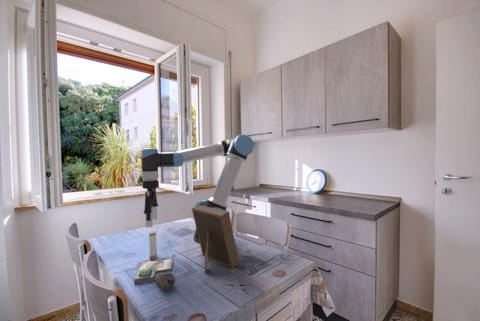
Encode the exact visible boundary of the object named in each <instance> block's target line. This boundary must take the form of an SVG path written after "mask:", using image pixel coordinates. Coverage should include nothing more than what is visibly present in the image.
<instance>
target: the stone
mask: <svg viewBox="0 0 480 321" xmlns="http://www.w3.org/2000/svg"><path fill="white" fill-rule="evenodd" d="M154 282H156V283H157V285H159V286H160V288H162V290H165V291H168V290H170V289H172V288H173V287H174V285H175V283H176V277H175V275H174V274H173V273H171V272H167V273H156V276H155V279H154Z"/></svg>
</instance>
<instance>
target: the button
mask: <svg viewBox="0 0 480 321" xmlns="http://www.w3.org/2000/svg"><path fill="white" fill-rule="evenodd" d="M143 276H151V268H150V267H145V268H142V269H141V270H140V277H143Z"/></svg>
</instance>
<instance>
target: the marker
mask: <svg viewBox="0 0 480 321" xmlns="http://www.w3.org/2000/svg"><path fill="white" fill-rule="evenodd" d="M148 235H149V236H148V240H149V259H156V258H157V256H158V247H157V241H158V240H157V231H150V232H149V233H148Z"/></svg>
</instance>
